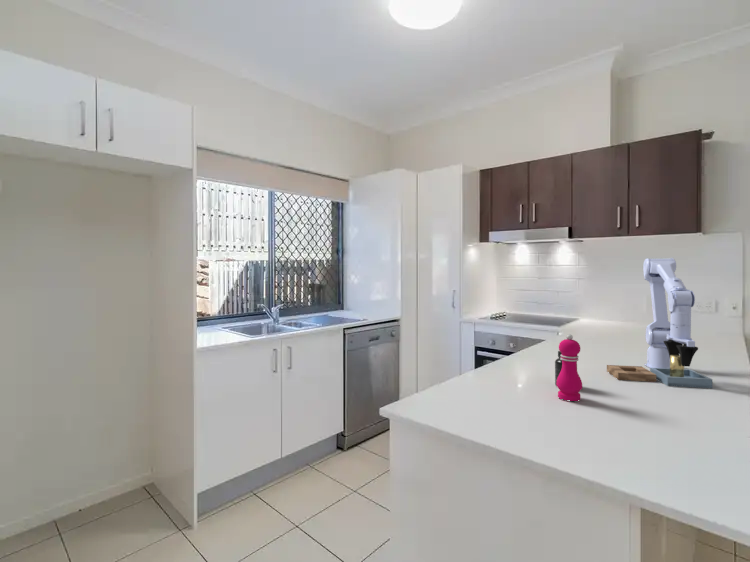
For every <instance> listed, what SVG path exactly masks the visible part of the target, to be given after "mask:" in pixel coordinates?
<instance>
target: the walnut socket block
mask: <svg viewBox="0 0 750 562" xmlns="http://www.w3.org/2000/svg"><path fill="white" fill-rule="evenodd" d="M606 372H607V373H608V372H609V373H608V374H609V375H611V376H612V375H613V376H612V377H614V378H615V379H616V378H617V379H616V380H617V381H628V380H631V382H651V383H652V382H653V383H656V382H657V379H656V374H654V373H652V372H651V371H650V370H649V369H647V368H646V367H643V366H637V365H619V364H618V365H614V364H606Z"/></svg>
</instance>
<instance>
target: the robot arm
mask: <svg viewBox="0 0 750 562" xmlns="http://www.w3.org/2000/svg"><path fill="white" fill-rule="evenodd" d="M642 269H643V271H642V272H643V278H644V280H645V281H647V282H648V283H649V289H650V297H651V307H652V318H653V319H652V320H653V321H652V322H651V323H648V324H647V326H645V328H646V329H645V341H646V343H647V345H649V347H648V348H647V350H646V363H644V366H646V367H648V368H649V369H650V368H670V355H680V359H681V365H682V366H684V367H690V366H691V364H692V360H693V357H694V356H695V354H696V353H697V351H698V350H699V347H698V346H696V341H695V340H694V339H692V335H691V333H692V308H693V307H694V305H695V302H696V296H695V294H694V291H693V290H690V289H687V288H686V286H685V284H684V282H683V281H682V279H681V278H679V277H677V275H676V274H675V272H676V270H677V261H676V259H675V258H674V257H667V258H666V257H665V258H662V257H661V258H657V257H656V258H653V257H652V258H648V257H647V258H645V259H644V260H643V266H642ZM666 294H667V298H666ZM667 304H668V306H667ZM668 310H669V312H670V314H668ZM668 315H670V317H669V316H668ZM669 319H670V321H669Z"/></svg>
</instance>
